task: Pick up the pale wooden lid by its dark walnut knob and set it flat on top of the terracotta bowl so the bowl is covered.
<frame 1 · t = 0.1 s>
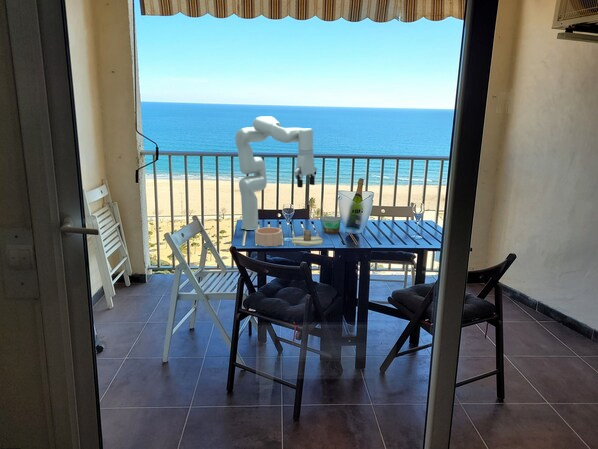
hand: (306, 185, 230), 31 cm above the table, tool pointing down, fingers open, 9 cm apart
food container: (330, 233, 256), on the table
bowl: (268, 243, 238), on the table
lid: (307, 242, 240), on the table
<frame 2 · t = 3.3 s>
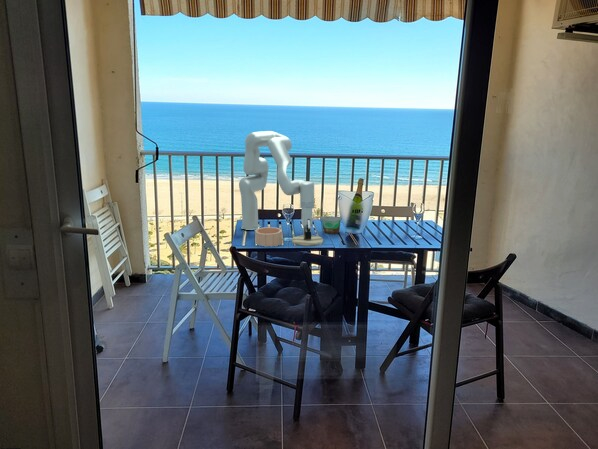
hand: (307, 237, 239), 2 cm above the table, tool pointing down, fingers closed on lid, 4 cm apart
lid: (307, 241, 240), on the table, touching gripper
everything else where it was.
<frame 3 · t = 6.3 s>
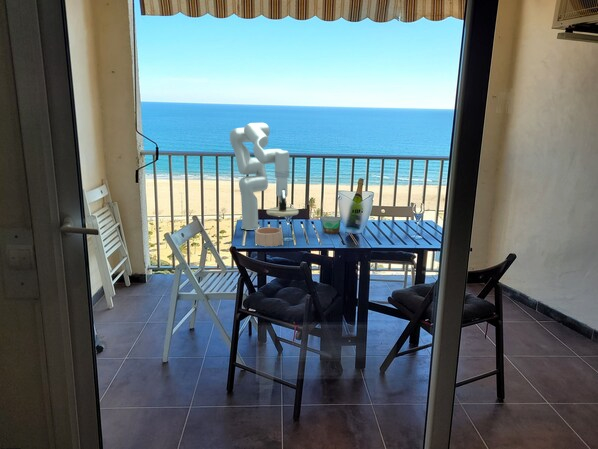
hand: (282, 208, 234), 19 cm above the table, tool pointing down, fingers closed on lid, 4 cm apart
lid: (282, 212, 235), point 16 cm above the table, touching gripper
everything else where it was.
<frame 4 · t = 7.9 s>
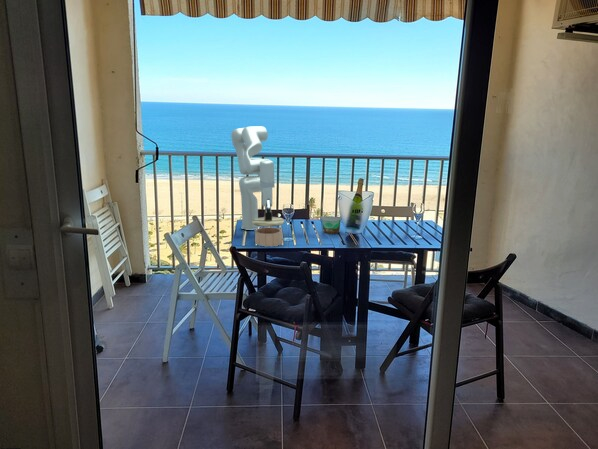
hand: (268, 218, 234), 14 cm above the table, tool pointing down, fingers closed on lid, 4 cm apart
lid: (268, 222, 234), point 11 cm above the table, touching gripper
everything else where it was.
when the fingers open (11 cm above the table, at t = 9.2 s): lid drops 1 cm, resting on bowl.
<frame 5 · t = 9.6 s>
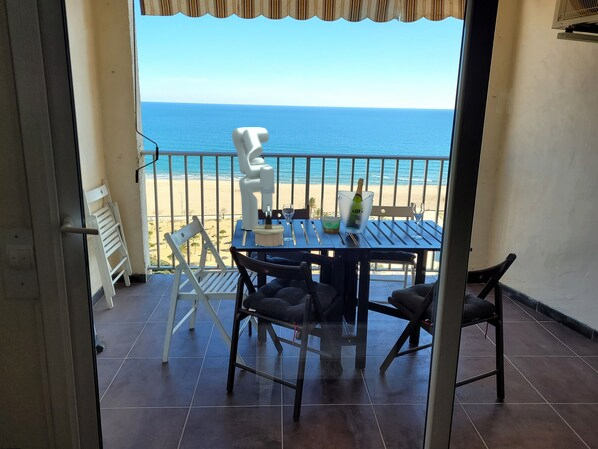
hand: (268, 222, 235), 12 cm above the table, tool pointing down, fingers open, 8 cm apart
lid: (268, 230, 236), point 7 cm above the table, touching bowl
everything else where it was.
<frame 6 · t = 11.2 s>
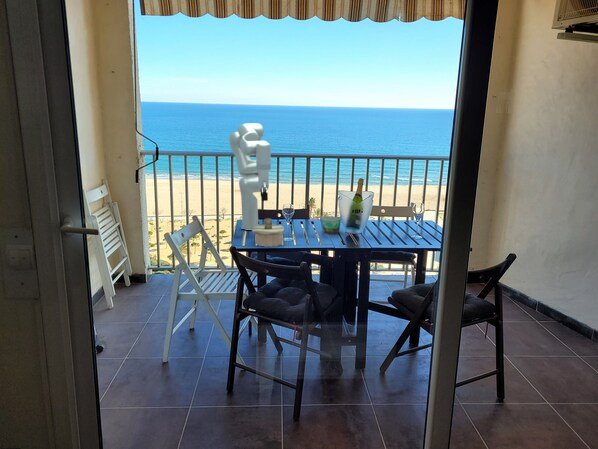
hand: (264, 198, 236), 24 cm above the table, tool pointing down, fingers open, 9 cm apart
nothing on the table moved.
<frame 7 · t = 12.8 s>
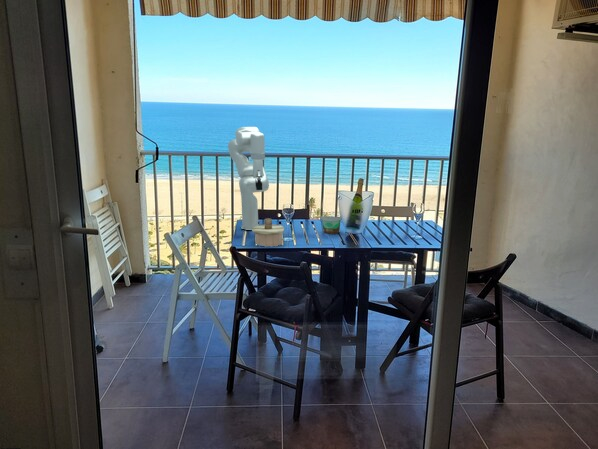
hand: (258, 188, 239), 28 cm above the table, tool pointing down, fingers open, 9 cm apart
nothing on the table moved.
at the end: lid 0.1 cm off-centre on the bowl, point 7.0 cm above the bowl's base; lid tilted 0°; the gripper is holding nothing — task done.
